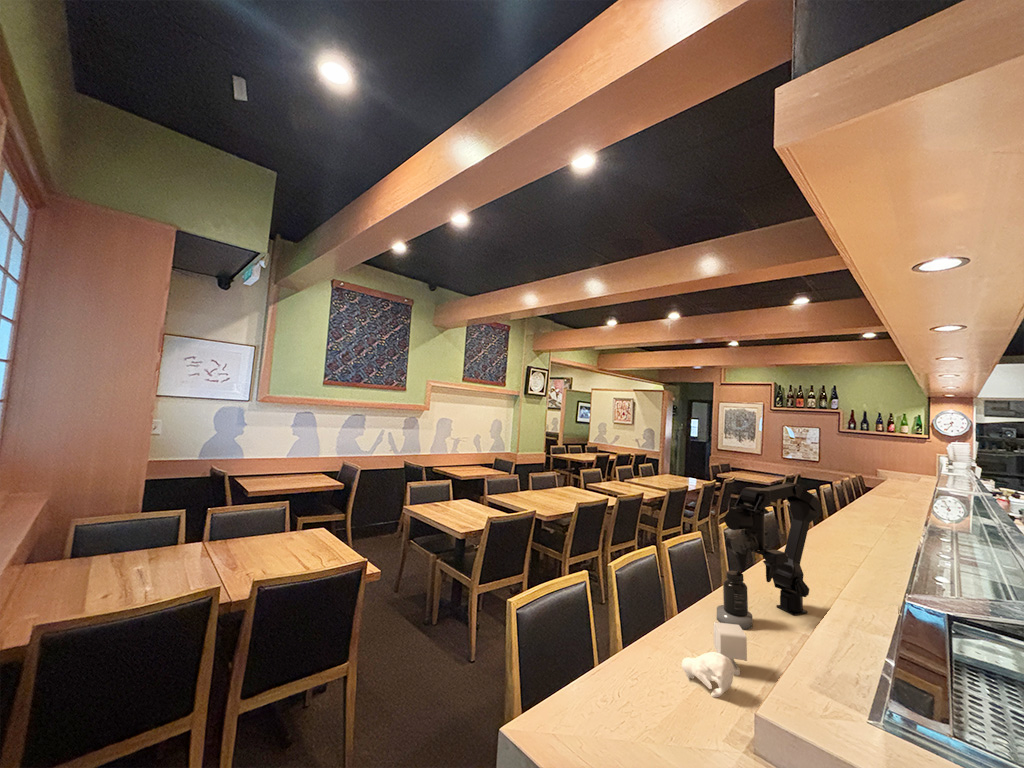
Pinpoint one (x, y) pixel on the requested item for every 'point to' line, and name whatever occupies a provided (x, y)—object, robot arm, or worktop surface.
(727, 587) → the supplement bottle
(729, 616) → the stand
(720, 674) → the white toy
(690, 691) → the worktop surface
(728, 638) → the security camera
